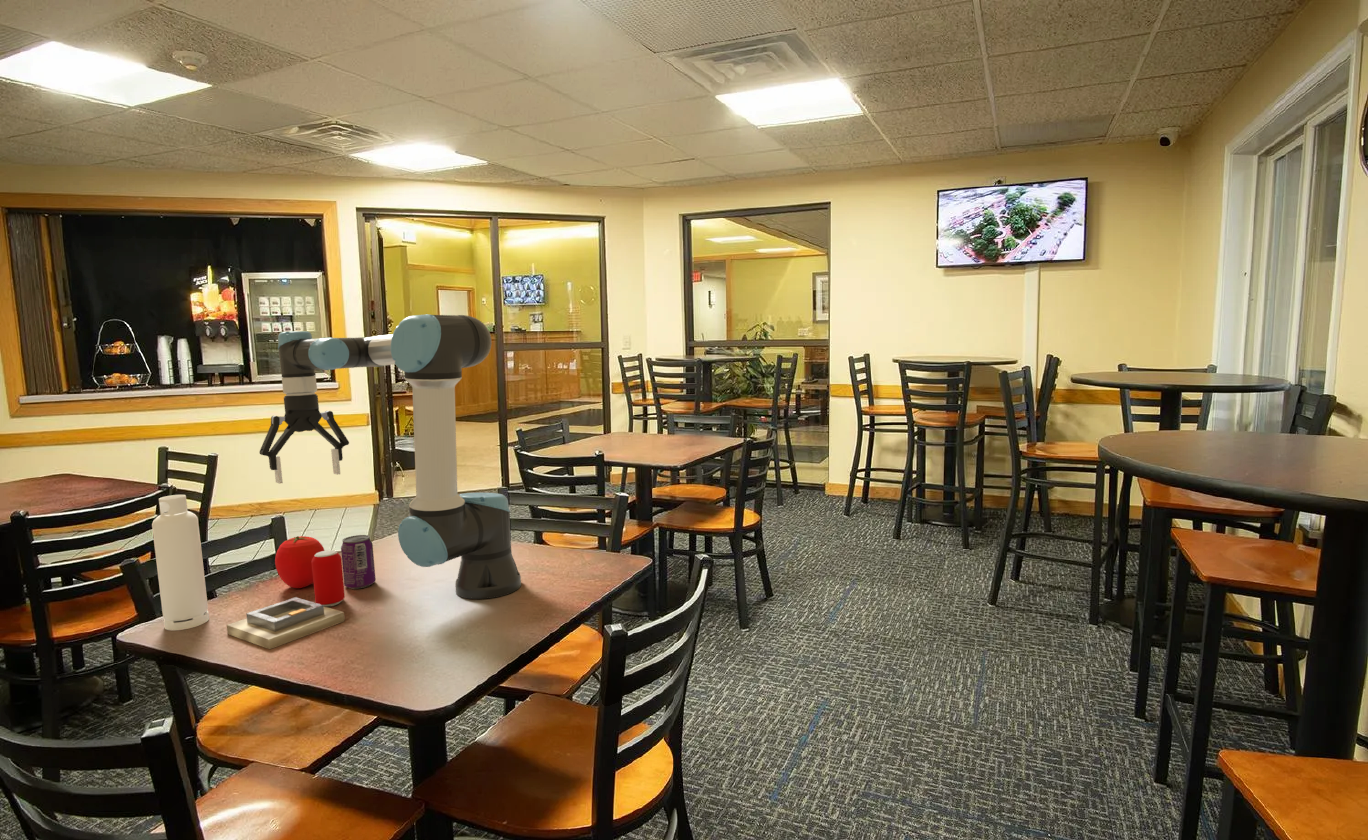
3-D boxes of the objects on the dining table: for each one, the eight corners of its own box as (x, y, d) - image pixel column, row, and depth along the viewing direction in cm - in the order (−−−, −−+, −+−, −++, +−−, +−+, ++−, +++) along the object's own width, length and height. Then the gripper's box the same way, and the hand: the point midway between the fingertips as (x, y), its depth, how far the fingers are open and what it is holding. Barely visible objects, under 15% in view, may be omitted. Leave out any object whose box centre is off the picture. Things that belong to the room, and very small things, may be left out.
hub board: (344, 620, 156) (343, 612, 156) (269, 649, 143) (268, 639, 142) (302, 608, 165) (301, 599, 164) (227, 634, 151) (226, 624, 151)
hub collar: (324, 614, 155) (323, 603, 155) (275, 631, 146) (273, 620, 146) (296, 606, 161) (295, 596, 160) (247, 622, 152) (246, 612, 151)
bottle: (217, 617, 161) (204, 493, 157) (182, 632, 153) (166, 502, 150) (191, 614, 163) (177, 492, 160) (155, 628, 156) (139, 500, 152)
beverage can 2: (381, 580, 182) (377, 534, 181) (366, 590, 175) (362, 542, 174) (354, 580, 183) (350, 534, 182) (338, 590, 176) (334, 542, 175)
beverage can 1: (314, 610, 163) (309, 558, 162) (316, 601, 169) (311, 551, 167) (344, 605, 166) (340, 554, 164) (345, 597, 171) (341, 547, 170)
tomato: (294, 579, 186) (289, 530, 184) (335, 578, 185) (331, 529, 184) (267, 594, 175) (262, 543, 173) (311, 593, 174) (306, 541, 173)
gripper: (346, 389, 192) (353, 469, 194) (239, 397, 174) (248, 484, 176) (357, 390, 186) (365, 471, 189) (248, 398, 169) (258, 488, 171)
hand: (308, 478), depth 182 cm, fingers open, 13 cm apart
